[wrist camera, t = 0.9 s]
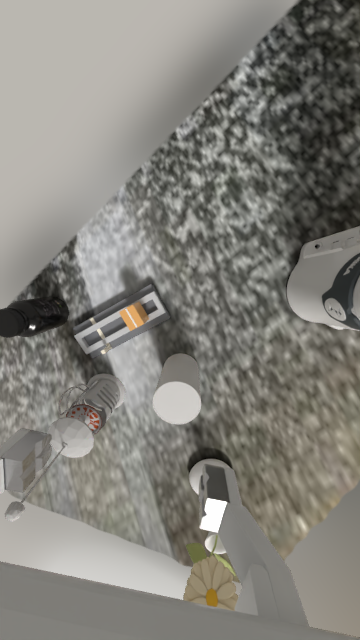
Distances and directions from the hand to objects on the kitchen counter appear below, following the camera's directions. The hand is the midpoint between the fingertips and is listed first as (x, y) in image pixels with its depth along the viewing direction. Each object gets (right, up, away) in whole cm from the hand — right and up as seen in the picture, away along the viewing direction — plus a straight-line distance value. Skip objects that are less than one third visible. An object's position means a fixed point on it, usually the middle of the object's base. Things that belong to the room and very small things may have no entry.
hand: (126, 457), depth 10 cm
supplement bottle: (-25, +9, +33) cm, 42 cm away
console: (-10, +7, +32) cm, 34 cm away
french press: (-16, -9, +36) cm, 41 cm away
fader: (-6, +9, +29) cm, 31 cm away
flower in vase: (+10, -32, +39) cm, 52 cm away
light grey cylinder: (+3, -4, +34) cm, 34 cm away
